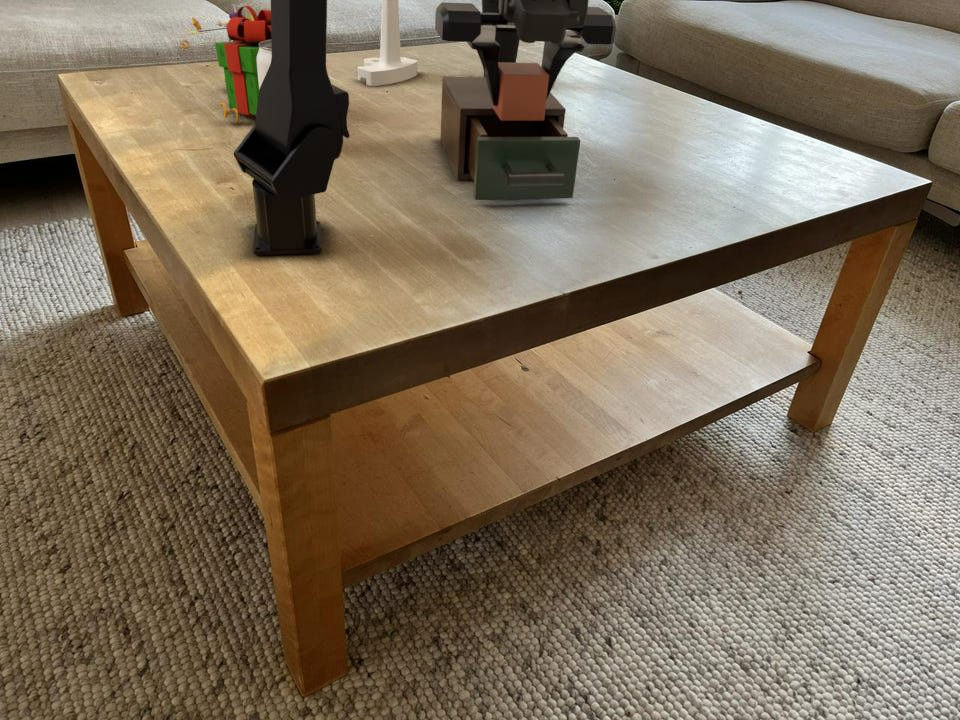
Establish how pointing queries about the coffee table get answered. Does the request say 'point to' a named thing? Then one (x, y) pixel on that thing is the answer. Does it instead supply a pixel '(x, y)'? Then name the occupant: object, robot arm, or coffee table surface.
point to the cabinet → (472, 100)
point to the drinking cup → (503, 36)
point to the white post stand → (388, 52)
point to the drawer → (520, 158)
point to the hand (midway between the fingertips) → (518, 104)
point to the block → (521, 92)
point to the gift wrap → (242, 59)
